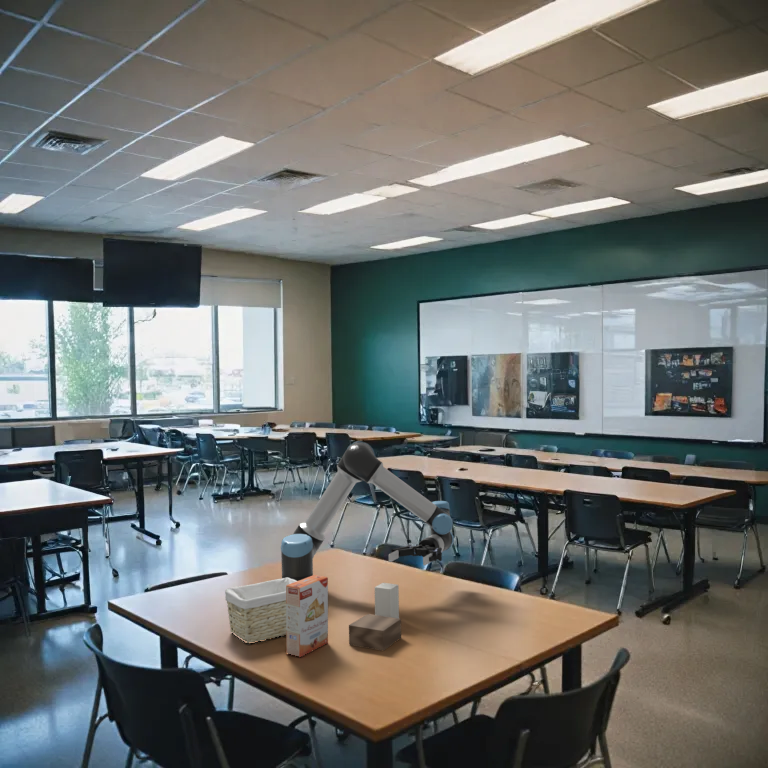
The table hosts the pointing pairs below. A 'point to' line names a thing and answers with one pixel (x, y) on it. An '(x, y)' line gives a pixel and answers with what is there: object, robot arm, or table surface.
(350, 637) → the walnut block
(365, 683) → the table surface
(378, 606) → the white block
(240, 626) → the storage basket
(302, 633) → the cracker box
